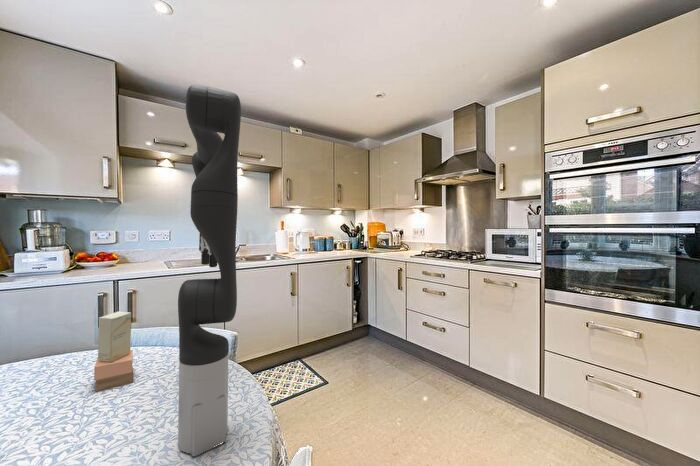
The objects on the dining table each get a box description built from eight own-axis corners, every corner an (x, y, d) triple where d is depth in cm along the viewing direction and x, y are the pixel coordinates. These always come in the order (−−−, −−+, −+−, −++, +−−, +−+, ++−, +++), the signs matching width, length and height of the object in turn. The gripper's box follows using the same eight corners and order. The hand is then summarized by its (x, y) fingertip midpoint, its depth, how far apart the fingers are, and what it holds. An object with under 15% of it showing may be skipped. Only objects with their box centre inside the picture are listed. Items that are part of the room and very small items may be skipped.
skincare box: (110, 362, 78) (111, 319, 78) (96, 360, 79) (97, 317, 78) (131, 352, 85) (132, 312, 84) (118, 350, 85) (119, 310, 85)
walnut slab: (133, 383, 81) (133, 370, 81) (95, 393, 76) (95, 380, 76) (131, 372, 87) (131, 360, 87) (95, 381, 82) (96, 368, 82)
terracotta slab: (132, 372, 81) (132, 359, 81) (94, 380, 76) (94, 367, 76) (132, 361, 87) (132, 350, 87) (97, 368, 82) (97, 356, 82)
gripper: (229, 215, 89) (228, 267, 89) (215, 216, 100) (214, 263, 100) (203, 213, 84) (202, 269, 84) (191, 215, 95) (190, 264, 95)
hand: (209, 265), depth 92 cm, fingers open, 8 cm apart
